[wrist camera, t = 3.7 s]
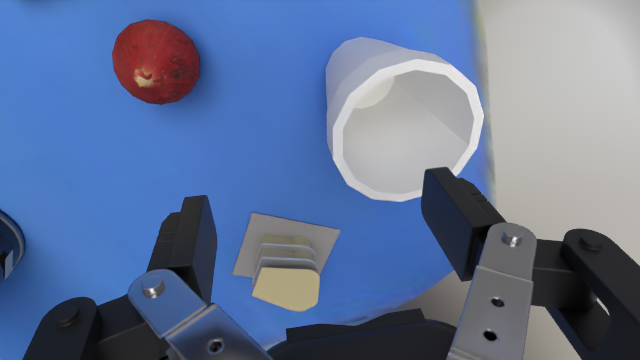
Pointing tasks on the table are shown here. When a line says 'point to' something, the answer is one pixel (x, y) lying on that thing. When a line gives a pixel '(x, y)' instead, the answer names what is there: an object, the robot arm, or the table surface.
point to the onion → (156, 62)
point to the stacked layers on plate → (285, 260)
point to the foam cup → (397, 117)
